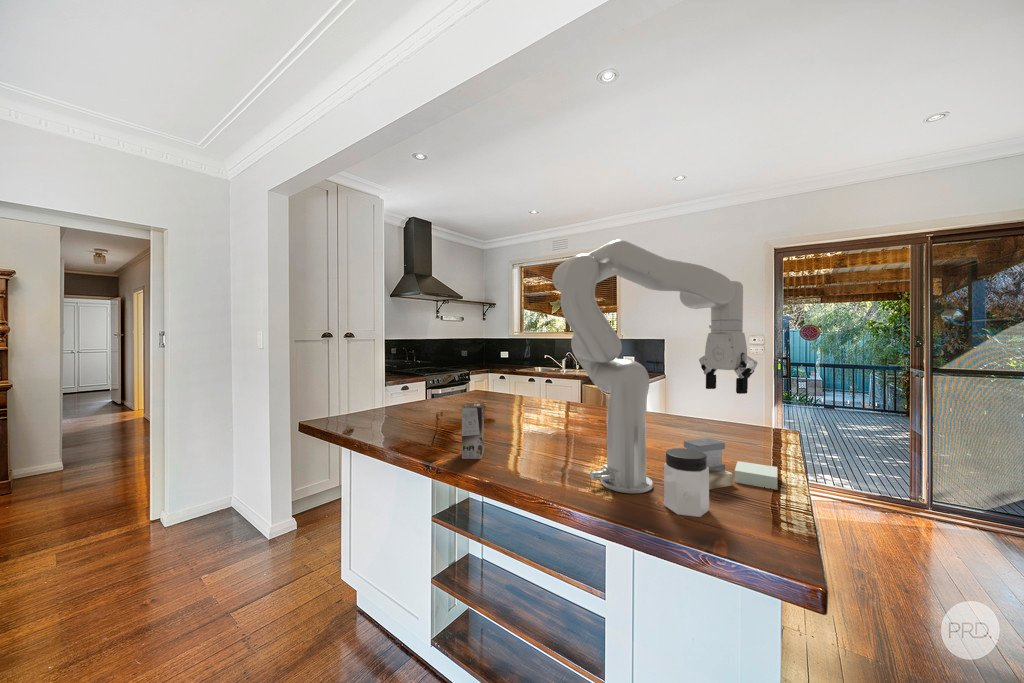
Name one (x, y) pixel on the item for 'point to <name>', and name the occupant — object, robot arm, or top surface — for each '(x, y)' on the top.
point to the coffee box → (472, 430)
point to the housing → (709, 452)
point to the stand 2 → (756, 475)
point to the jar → (686, 482)
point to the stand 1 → (720, 479)
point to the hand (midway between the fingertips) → (725, 391)
